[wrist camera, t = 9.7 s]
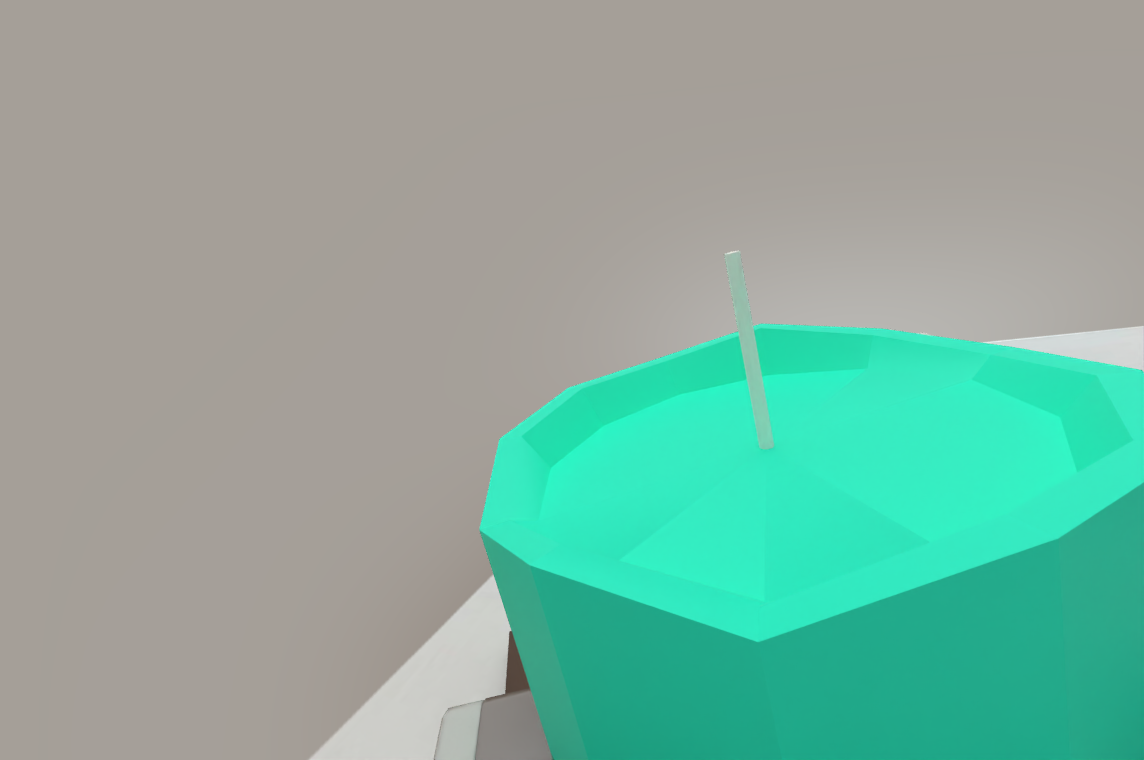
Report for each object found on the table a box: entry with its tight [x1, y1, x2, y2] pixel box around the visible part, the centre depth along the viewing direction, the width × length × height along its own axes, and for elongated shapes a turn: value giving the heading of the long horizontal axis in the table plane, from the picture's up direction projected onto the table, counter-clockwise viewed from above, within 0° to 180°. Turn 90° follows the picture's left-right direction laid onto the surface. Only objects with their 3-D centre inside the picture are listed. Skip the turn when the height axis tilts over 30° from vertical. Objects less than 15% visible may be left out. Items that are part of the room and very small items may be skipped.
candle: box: [480, 251, 1144, 760], centre depth 7 cm, size 6×6×12 cm
